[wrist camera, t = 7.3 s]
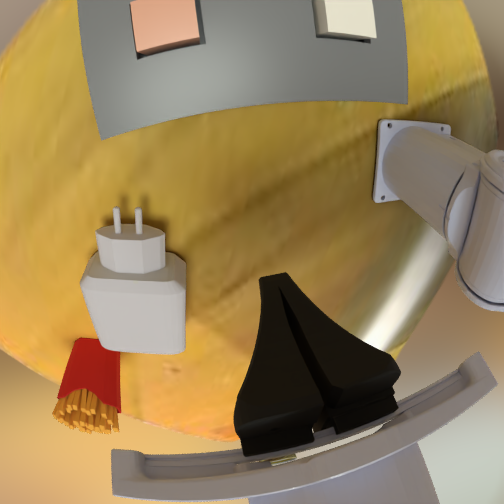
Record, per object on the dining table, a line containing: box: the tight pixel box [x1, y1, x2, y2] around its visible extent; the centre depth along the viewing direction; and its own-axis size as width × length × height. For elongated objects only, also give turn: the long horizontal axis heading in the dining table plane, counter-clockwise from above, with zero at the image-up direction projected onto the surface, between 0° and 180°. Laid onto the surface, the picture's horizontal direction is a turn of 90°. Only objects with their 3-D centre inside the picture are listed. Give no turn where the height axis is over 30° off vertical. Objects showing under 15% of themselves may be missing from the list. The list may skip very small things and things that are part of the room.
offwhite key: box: [311, 0, 377, 40], centre depth 11 cm, size 3×3×3 cm
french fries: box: [52, 338, 121, 434], centre depth 25 cm, size 8×4×12 cm, turn 81°
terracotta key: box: [130, 0, 200, 56], centre depth 10 cm, size 3×3×3 cm
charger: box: [80, 206, 186, 354], centre depth 22 cm, size 5×9×15 cm
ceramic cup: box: [259, 454, 297, 465], centre depth 61 cm, size 13×10×10 cm
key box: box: [77, 0, 408, 140], centre depth 12 cm, size 20×12×4 cm, turn 96°
